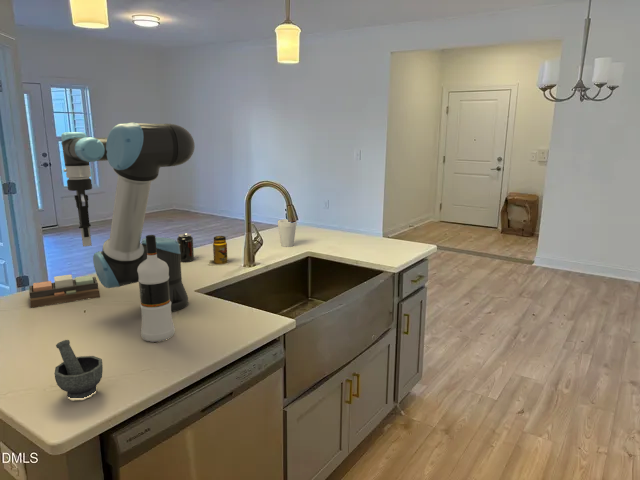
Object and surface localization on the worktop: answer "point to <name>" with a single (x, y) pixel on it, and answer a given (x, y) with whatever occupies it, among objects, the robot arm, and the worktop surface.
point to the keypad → (63, 294)
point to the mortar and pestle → (77, 372)
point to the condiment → (219, 251)
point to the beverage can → (186, 247)
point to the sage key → (84, 280)
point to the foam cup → (286, 232)
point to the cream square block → (63, 281)
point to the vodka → (155, 296)
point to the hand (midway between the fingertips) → (87, 245)
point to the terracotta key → (42, 286)
